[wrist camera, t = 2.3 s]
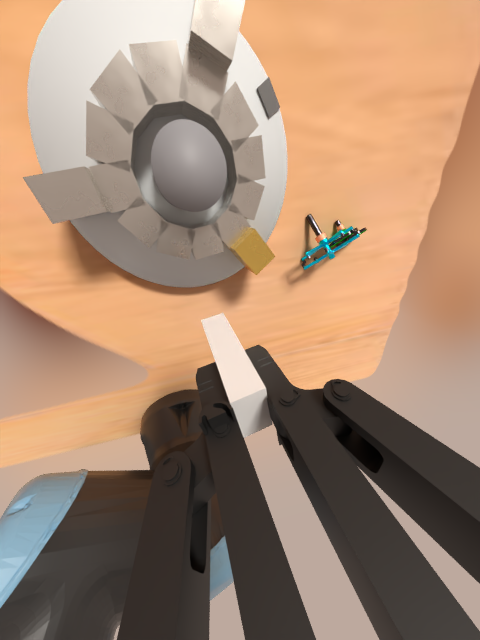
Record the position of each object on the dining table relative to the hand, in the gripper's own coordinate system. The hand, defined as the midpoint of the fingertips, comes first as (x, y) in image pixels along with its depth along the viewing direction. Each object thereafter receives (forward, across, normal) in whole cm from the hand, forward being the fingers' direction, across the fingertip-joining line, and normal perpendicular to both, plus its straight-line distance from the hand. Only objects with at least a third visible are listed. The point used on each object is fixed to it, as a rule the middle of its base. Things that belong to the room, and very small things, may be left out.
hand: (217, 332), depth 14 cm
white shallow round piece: (+16, +2, +10) cm, 19 cm away
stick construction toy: (+17, +21, -1) cm, 27 cm away
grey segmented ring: (+14, +3, +8) cm, 17 cm away
